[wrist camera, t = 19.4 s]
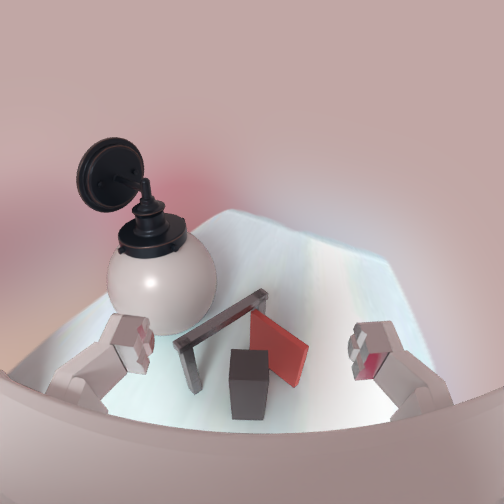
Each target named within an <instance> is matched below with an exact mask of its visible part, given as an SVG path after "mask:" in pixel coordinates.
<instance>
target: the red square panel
mask: <svg viewBox="0 0 504 504" xmlns="http://www.w3.org/2000/svg"><path fill="white" fill-rule="evenodd" d="M308 348H309V346H308V345H306V344H305V343H304V342H302V341H301V340H299V339H298V338H296V337H295V336H294V335H292V334H291V333H289V332H288V331H286V330H285V329H284V328H282V327H281V326H279V325H278V324H276V323H275V322H274V321H272V320H271V319H269V318H268V317H267V316H265V315H264V314H263V313H261V312H260V311H258V310H257V309H254V310H253V311H251V323H250V350H268V362H269V369H271V370H272V371H273V372H274V373H276V374H277V375H278V376H280V377H281V378H282V379H283V380H285V381H286V382H287V383H289V384H290V385H291V386H293V387H295V386H296V385H298V383H299V380H300V376H301V373H302V369H303V366H304V362H305V359H306V355H307V352H308Z"/></svg>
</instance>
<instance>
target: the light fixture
mask: <svg viewBox="0 0 504 504" xmlns="http://www.w3.org/2000/svg"><path fill="white" fill-rule="evenodd" d="M143 176H144V163H143V159H142V156H141V154H140V152H139V150H138V149H137V147H136V146H135V145H134V144H133V143H131V142H130V141H128V140H126V139H123V138H118V137H112V138H106V139H103V140H100V141H99V142H97V143H95V144H94V145H93V146H91V147H90V148H89V149H88V150H87V152H86V153H85V154H84V156H83V158H82V159H81V161H80V164H79V166H78V170H77V176H76V183H77V189H78V192H79V195H80V197H81V198H82V200H83V201H84V202H85V204H86V205H88V206H89V207H90V208H92V209H94V210H96V211H99V212H104V213H108V212H114V211H117V210H119V209H121V208H123V207H125V206H126V205H127V204H128V203H130V202H131V201H132V199H133V198H134V197H135V196H136V194H137V193H138V191H140V192H141V193H142V198H141V199H140V203H139V204H137V205H135V206H134V207H133V208H132V213H133V214H134V215H135V219H133V220H131V221H129V222H128V223H126V224H125V225H124V226H123V227H122V228H121V229H120V231H119V233H118V240H119V246H118V247H117V248H116V250H115V252H114V253H113V255H112V258H111V260H110V263H109V266H108V271H107V290H108V295H109V298H110V301H111V303H112V305H113V307H114V309H115V310H116V312H117V313H118V314H126V315H133V316H141V317H147V318H149V321H150V326H149V328H150V329H151V330H152V331H153V333H154V335H157V336H167V335H174V334H178V333H181V332H183V331H185V330H187V329H189V328H191V327H192V326H194V325H195V324H197V323H198V322H199V321H200V320H201V319H202V318H203V317H204V316H205V314H206V313H207V311H208V310H209V308H210V306H211V304H212V302H213V299H214V296H215V292H216V286H217V275H216V269H215V265H214V262H213V260H212V258H211V256H210V254H209V252H208V250H207V249H206V248H205V246H204V245H203V244H202V243H201V242H200V241H199V240H198V239H197V238H196V237H195V236H193V235H192V234H190V233H189V232H187V228H186V223H185V220H184V218H181V217H179V216H177V215H174V214H168V213H164V212H163V210H164V208H165V204H164V203H163V202H162V201H158V200H155V198H154V196H152V195H151V187H150V181H149V179H148V178H143Z"/></svg>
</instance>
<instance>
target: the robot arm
mask: <svg viewBox="0 0 504 504" xmlns="http://www.w3.org/2000/svg"><path fill="white" fill-rule="evenodd" d="M149 326H150V321H149V318H147V317H141V316H133V315H126V314H118V313H113V314H112V315H111V316H110V318H109V321H108V323H107V325H106V327H105V329H104V331H103V333H102V335H101V337H100V339H99V342H94V343H93V344H92V345H90V346H89V347H87V348H86V349H85V350H83V351H82V352H80V353H79V354H78V355H76V356H75V357H74V358H72V359H71V360H69V361H68V362H67V363H65V364H64V365H62V366H61V367H60V368H58V369H57V370H56V371H55V373H54V375H53V378H52V380H51V382H50V384H49V387H48V389H47V391H46V393H45V394H43V393H41V392H38V391H36V390H33V389H31V388H28V387H26V386H24V385H21V384H19V383H17V382H15V381H12V380H11V379H10V378H9V376H8V375H7V374H6V373H5V372H4V371H3V370H0V504H504V386H503V387H501V388H498V389H496V390H494V391H491V392H489V393H487V394H484V395H481V396H479V397H476V398H474V399H471V400H468V401H465V402H462V403H459V404H456V405H454V404H453V402H452V399H451V396H450V393H449V391H448V388H447V386H446V383H445V381H444V380H443V379H442V378H440V377H439V376H438V375H437V374H435V373H434V372H433V371H432V370H431V369H429V368H428V367H427V366H426V365H424V364H423V363H422V362H421V361H420V360H418V359H417V358H416V357H415V356H413V355H412V354H411V353H410V352H408V351H404V349H403V347H402V344H401V342H400V339H399V337H398V335H397V332H396V330H395V328H394V325H393V323H392V322H391V321H380V322H363V323H356V324H355V326H354V329H353V330H354V334H353V335H352V336H351V337H350V339H349V342H348V354H349V359H351V360H352V361H353V362H354V363H353V365H352V371H353V375H354V379H355V380H367V379H374V381H375V382H376V383H377V385H378V386H379V387H380V388H381V389H382V390H383V391H384V392H385V394H386V395H387V396H388V397H389V398H390V399H391V400H392V401H393V403H394V404H395V405H396V406H397V407H398V408H399V409H398V410H397V411H396V412H395V413H394V414H393V415H392V417H391V418H390V420H391V422H386V423H381V424H375V425H369V426H363V427H356V428H349V429H340V430H331V431H320V432H306V433H284V434H249V433H226V432H212V431H201V430H192V429H184V428H176V427H169V426H163V425H157V424H151V423H146V422H141V421H136V420H131V419H126V418H122V417H118V416H113V415H109V414H108V410H107V408H106V407H105V406H104V404H103V403H102V402H101V401H100V400H101V399H102V398H103V397H104V396H105V395H106V394H107V393H108V392H109V391H110V390H111V389H112V388H113V387H114V386H115V385H116V384H117V383H118V382H119V381H120V380H121V379H122V378H123V377H124V376H125V375H126V374H127V372H129V373H136V374H144V375H146V373H147V370H148V366H149V363H150V361H149V358H148V356H149V355H151V354H152V353H153V349H154V342H155V339H154V333H153V331H152V330H151V329H150V328H149Z"/></svg>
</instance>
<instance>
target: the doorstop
mask: <svg viewBox="0 0 504 504" xmlns="http://www.w3.org/2000/svg"><path fill="white" fill-rule="evenodd" d="M268 384H269V362H268V350H241V349H231V358H230V371H229V388H230V400H231V411H232V419H235V420H263V418H264V412H265V405H266V398H267V391H268Z"/></svg>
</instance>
